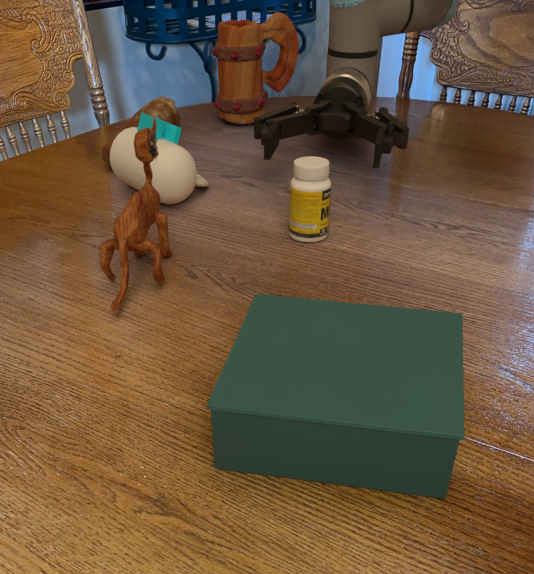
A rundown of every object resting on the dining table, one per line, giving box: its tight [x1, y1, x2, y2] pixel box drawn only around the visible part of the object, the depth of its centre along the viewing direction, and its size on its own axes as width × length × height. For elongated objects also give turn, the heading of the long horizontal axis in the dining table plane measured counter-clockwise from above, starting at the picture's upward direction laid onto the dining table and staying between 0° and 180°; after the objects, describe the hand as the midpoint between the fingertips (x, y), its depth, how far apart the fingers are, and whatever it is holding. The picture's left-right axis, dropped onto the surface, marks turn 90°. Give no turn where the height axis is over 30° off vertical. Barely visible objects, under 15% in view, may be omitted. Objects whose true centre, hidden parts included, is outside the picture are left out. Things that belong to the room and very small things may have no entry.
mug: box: [211, 11, 300, 126], centre depth 113 cm, size 15×8×15 cm, turn 112°
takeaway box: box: [205, 293, 465, 500], centre depth 55 cm, size 18×16×6 cm
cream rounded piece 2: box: [110, 112, 209, 205], centre depth 91 cm, size 12×9×12 cm
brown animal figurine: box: [98, 118, 174, 313], centre depth 70 cm, size 18×7×14 cm, turn 172°
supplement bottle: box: [288, 155, 332, 243], centre depth 81 cm, size 5×5×8 cm
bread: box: [101, 96, 181, 168], centre depth 104 cm, size 6×19×6 cm, turn 161°
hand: (321, 152), depth 85 cm, fingers open, 13 cm apart
